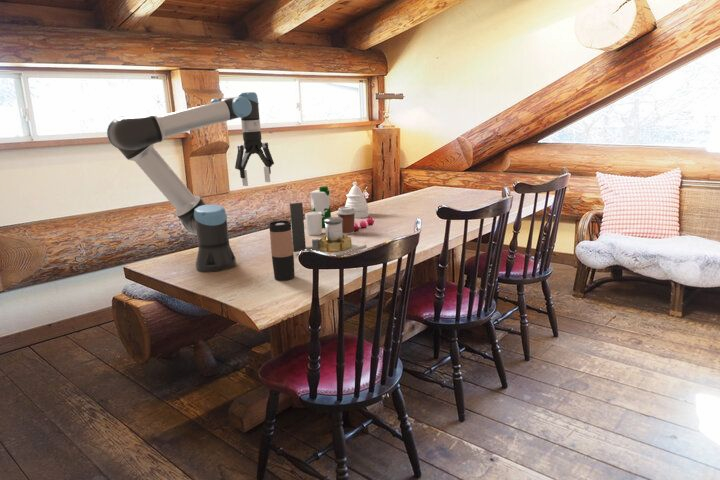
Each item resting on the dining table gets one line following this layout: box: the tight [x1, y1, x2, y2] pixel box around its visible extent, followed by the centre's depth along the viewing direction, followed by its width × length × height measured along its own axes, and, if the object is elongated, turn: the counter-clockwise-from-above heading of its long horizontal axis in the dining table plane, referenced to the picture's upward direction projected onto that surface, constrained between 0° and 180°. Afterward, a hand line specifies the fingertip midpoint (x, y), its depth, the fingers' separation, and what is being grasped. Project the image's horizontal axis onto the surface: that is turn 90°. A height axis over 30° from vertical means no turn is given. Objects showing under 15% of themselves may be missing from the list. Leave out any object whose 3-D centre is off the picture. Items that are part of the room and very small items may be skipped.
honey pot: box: [344, 181, 369, 219], centre depth 287 cm, size 13×13×18 cm
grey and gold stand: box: [289, 201, 352, 253], centre depth 218 cm, size 22×16×20 cm
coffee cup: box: [335, 206, 356, 235], centre depth 250 cm, size 9×9×12 cm
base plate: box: [316, 241, 367, 256], centre depth 223 cm, size 21×17×1 cm
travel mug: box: [268, 220, 296, 282], centre depth 186 cm, size 8×8×20 cm
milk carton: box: [309, 186, 332, 229], centre depth 265 cm, size 9×9×20 cm
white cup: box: [304, 211, 323, 236], centre depth 251 cm, size 8×8×10 cm
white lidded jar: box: [324, 216, 343, 243], centre depth 222 cm, size 8×8×13 cm
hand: (256, 183), depth 225 cm, fingers open, 11 cm apart
